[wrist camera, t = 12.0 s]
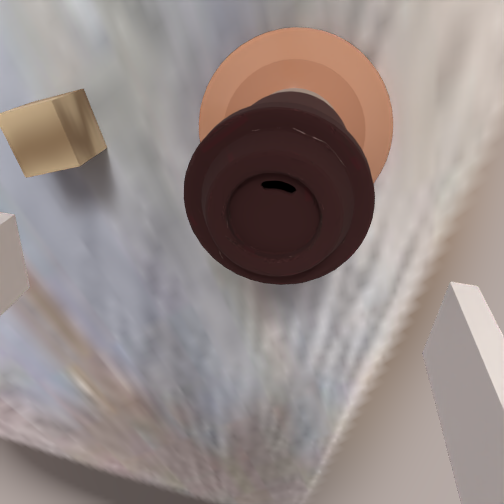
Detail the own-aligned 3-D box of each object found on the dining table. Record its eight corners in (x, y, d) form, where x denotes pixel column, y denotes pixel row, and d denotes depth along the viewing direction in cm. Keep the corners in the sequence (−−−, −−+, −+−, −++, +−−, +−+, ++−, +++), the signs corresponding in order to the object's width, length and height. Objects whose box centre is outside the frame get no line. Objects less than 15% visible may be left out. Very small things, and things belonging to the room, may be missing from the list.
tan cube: (32, 101, 37) (-6, 115, 33) (84, 88, 36) (51, 100, 32) (58, 158, 40) (25, 177, 35) (107, 147, 39) (79, 166, 34)
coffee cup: (295, 217, 38) (277, 331, 25) (206, 137, 36) (136, 218, 23) (387, 134, 33) (423, 220, 20) (292, 35, 31) (265, 64, 18)
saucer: (205, 15, 32) (202, 16, 31) (415, 40, 31) (418, 41, 30) (198, 204, 40) (195, 209, 39) (366, 229, 39) (367, 235, 38)
